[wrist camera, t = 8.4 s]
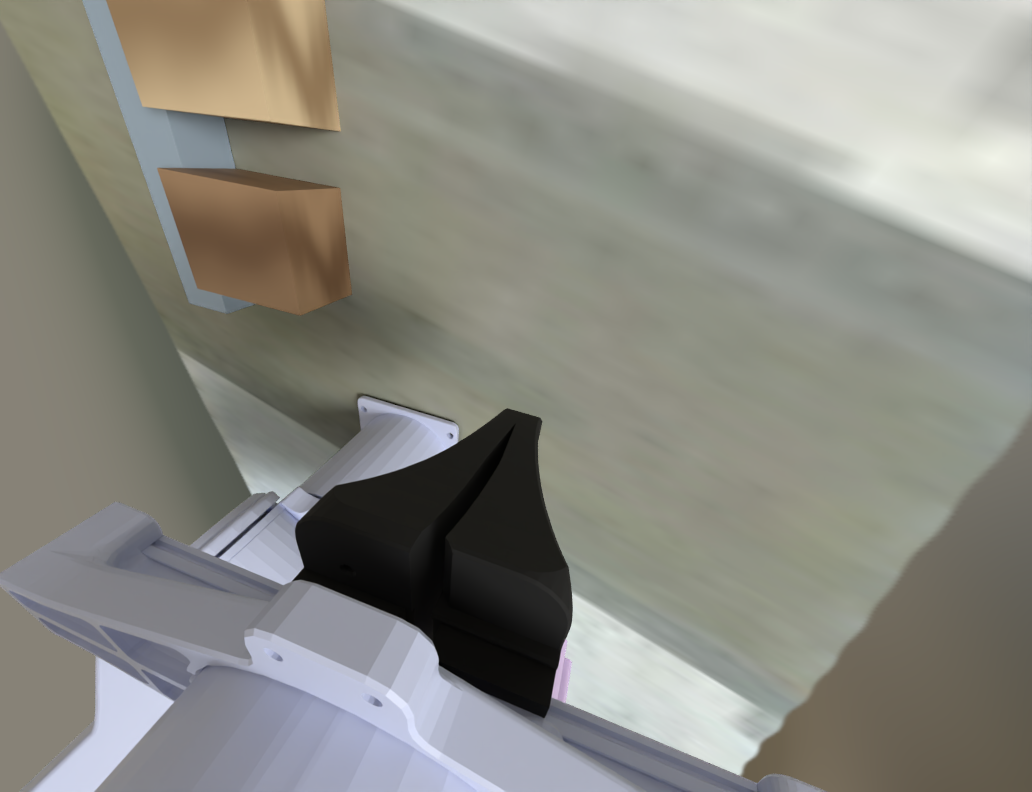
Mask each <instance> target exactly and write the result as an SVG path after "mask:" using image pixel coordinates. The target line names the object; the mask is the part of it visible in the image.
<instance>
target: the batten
mask: <svg viewBox="0 0 1032 792" xmlns="http://www.w3.org/2000/svg"><path fill="white" fill-rule="evenodd" d="M82 1H83V4H84V7H85V10H86V13H87V15H88V18H89V21H90V24H91V27H92V29H93V32H94V35H95V38H96V41H97V44H98V46H99V49H100V52H101V55H102V58H103V61H104V63H105V66H106V69H107V72H108V75H109V78H110V80H111V83H112V86H113V89H114V92H115V95H116V97H117V100H118V103H119V106H120V109H121V112H122V114H123V117H124V120H125V123H126V126H127V129H128V131H129V134H130V137H131V140H132V143H133V146H134V148H135V151H136V154H137V157H138V160H139V163H140V165H141V168H142V171H143V174H144V177H145V179H146V182H147V185H148V188H149V191H150V194H151V196H152V199H153V202H154V205H155V208H156V211H157V213H158V216H159V219H160V222H161V225H162V228H163V230H164V233H165V236H166V239H167V242H168V245H169V247H170V250H171V253H172V256H173V259H174V262H175V264H176V267H177V270H178V273H179V276H180V279H181V281H182V284H183V287H184V290H185V293H186V296H187V298H188V301H189V303H190V304H194V305H197V306H201V307H204V308H208V309H212V310H215V311H219V312H222V313H226V314H228V313H231V312H234V311H237V310H240V309H243V308H246V307H249V306H252V305H255V304H254V303H250V302H247V301H243V300H239V299H235V298H231V297H227V296H224V295H220V294H216V293H212V292H208V291H205V290H201V289H197V286H196V283H195V280H194V277H193V274H192V271H191V268H190V265H189V262H188V259H187V256H186V253H185V250H184V247H183V244H182V241H181V238H180V235H179V232H178V229H177V226H176V223H175V221H174V218H173V215H172V212H171V209H170V206H169V203H168V200H167V197H166V194H165V191H164V188H163V185H162V182H161V179H160V176H159V173H158V170H157V168H226V169H235V164H234V160H233V156H232V152H231V147H230V143H229V139H228V135H227V131H226V126H225V122H224V118H223V117H216V116H209V115H201V114H194V113H186V112H179V111H171V110H164V109H156V108H149V107H143V106H142V103H141V101H140V98H139V95H138V92H137V89H136V86H135V83H134V80H133V77H132V74H131V72H130V69H129V66H128V63H127V60H126V57H125V54H124V51H123V48H122V45H121V42H120V40H119V37H118V34H117V31H116V28H115V25H114V22H113V19H112V16H111V13H110V10H109V8H108V5H107V2H106V0H82Z"/></svg>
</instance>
